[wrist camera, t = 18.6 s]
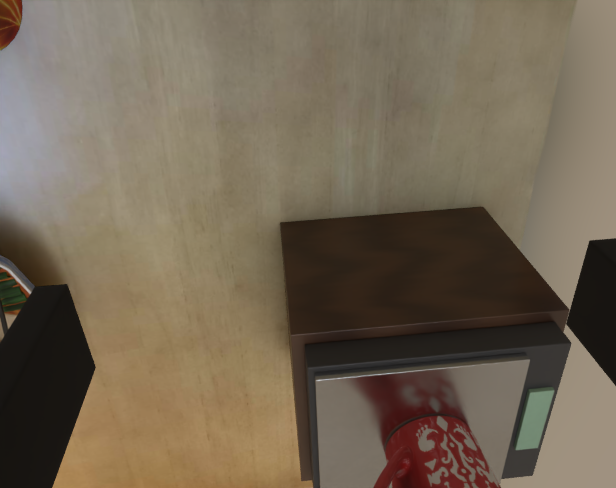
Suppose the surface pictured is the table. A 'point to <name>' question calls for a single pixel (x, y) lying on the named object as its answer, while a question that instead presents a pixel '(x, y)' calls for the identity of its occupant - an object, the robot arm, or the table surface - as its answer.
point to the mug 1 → (9, 20)
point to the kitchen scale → (432, 395)
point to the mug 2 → (435, 457)
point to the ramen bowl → (11, 293)
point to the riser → (402, 284)
